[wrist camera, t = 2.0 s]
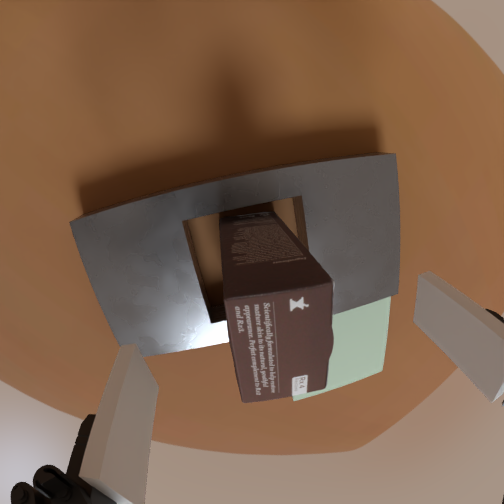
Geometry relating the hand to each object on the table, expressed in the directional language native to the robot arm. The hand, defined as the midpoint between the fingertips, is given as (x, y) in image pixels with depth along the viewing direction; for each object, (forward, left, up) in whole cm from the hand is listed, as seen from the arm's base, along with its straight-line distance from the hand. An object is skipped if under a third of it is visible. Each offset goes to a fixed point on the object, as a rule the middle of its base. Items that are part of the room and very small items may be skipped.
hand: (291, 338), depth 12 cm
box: (0, 0, -11) cm, 11 cm away
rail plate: (0, 0, -11) cm, 11 cm away
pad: (+7, -12, -11) cm, 18 cm away
